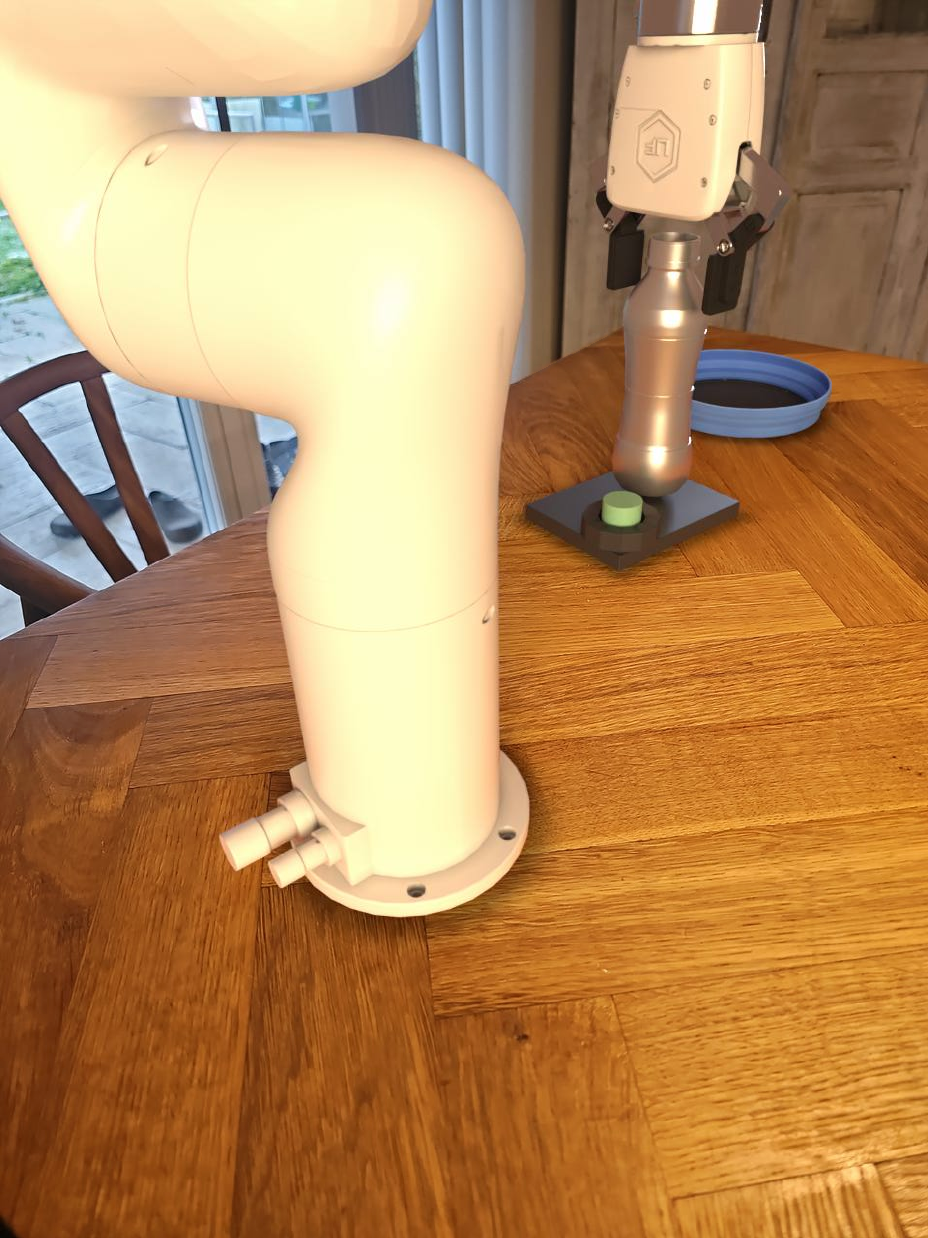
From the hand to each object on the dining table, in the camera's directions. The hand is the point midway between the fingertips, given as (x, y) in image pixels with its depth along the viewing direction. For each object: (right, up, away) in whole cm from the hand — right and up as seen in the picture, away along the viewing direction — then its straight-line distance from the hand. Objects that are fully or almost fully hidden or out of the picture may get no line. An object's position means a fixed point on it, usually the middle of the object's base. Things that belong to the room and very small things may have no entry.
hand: (668, 298), depth 63 cm
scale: (-1, -16, +8) cm, 17 cm away
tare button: (-3, -16, +2) cm, 17 cm away
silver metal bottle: (0, -13, +9) cm, 16 cm away
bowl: (+14, -2, +27) cm, 30 cm away
